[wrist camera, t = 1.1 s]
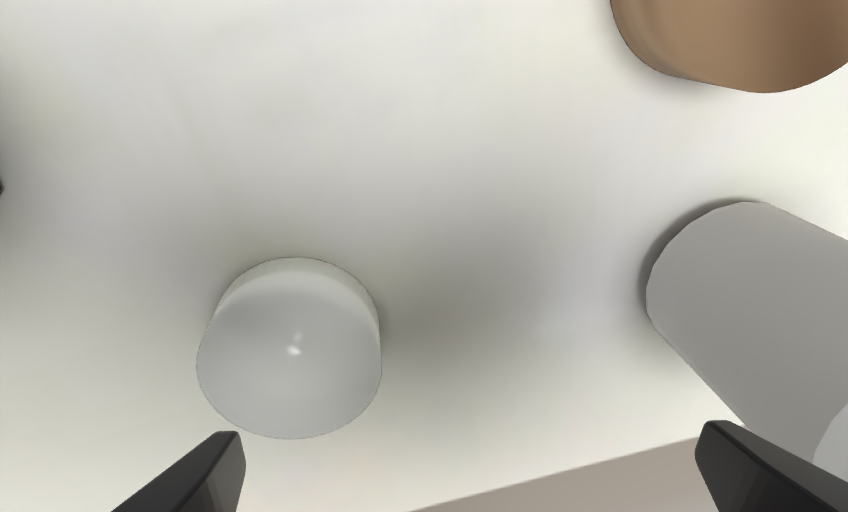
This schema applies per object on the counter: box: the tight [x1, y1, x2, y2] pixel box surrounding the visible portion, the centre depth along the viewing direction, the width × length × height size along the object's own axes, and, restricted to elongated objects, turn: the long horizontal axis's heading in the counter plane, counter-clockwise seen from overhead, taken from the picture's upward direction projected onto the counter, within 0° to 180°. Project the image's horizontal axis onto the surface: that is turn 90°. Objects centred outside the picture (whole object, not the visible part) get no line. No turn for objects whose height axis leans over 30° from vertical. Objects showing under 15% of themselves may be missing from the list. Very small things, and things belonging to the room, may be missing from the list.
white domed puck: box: [196, 257, 382, 439], centre depth 21 cm, size 7×7×3 cm
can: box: [646, 202, 848, 482], centre depth 19 cm, size 8×8×12 cm
